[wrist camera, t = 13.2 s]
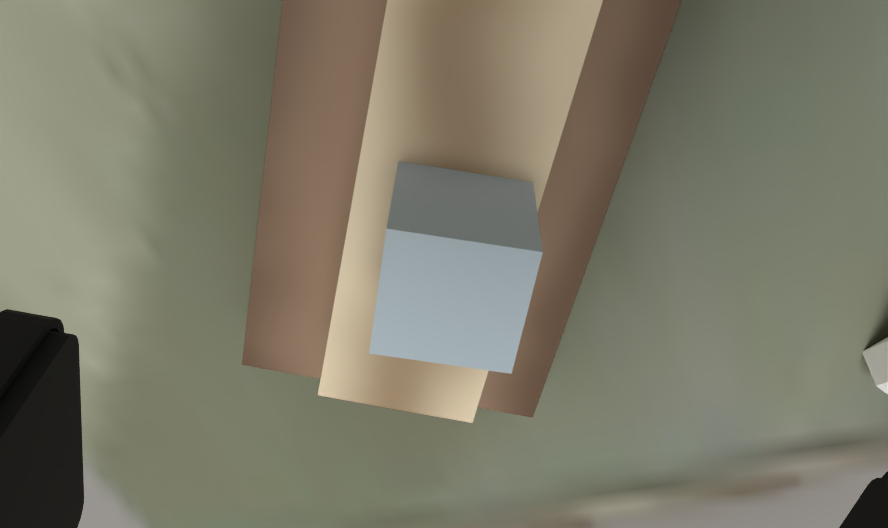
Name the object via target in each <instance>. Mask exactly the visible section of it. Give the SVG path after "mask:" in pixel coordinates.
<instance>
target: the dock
mask: <svg viewBox="0 0 888 528" xmlns="http://www.w3.org/2000/svg"><path fill="white" fill-rule="evenodd" d="M681 2H682V0H603V2H602V5H601V8H600V12H599V15H598V18H597V21H596V25H595V28H594V31H593V34H592V38H591V41H590V44H589V47H588V50H587V54H586V57H585V60H584V63H583V67H582V70H581V73H580V76H579V80H578V83H577V86H576V89H575V93H574V96H573V99H572V102H571V105H570V109H569V112H568V115H567V118H566V122H565V125H564V128H563V131H562V135H561V138H560V141H559V144H558V148H557V151H556V154H555V157H554V161H553V164H552V167H551V170H550V173H549V177H548V180H547V183H546V186H545V190H544V193H543V196H542V199H541V203H540V206H539V209H538V212H537V214H538V221H539V229H540V236H541V243H542V250H543V253H542V257H541V261H540V265H539V269H538V273H537V277H536V281H535V284H534V288H533V292H532V296H531V300H530V304H529V308H528V312H527V316H526V320H525V323H524V327H523V331H522V335H521V339H520V343H519V347H518V351H517V355H516V358H515V362H514V366H513V370H512V374H510V373H503V372H496V371H488V374H487V377H486V381H485V384H484V387H483V390H482V394H481V397H480V400H479V403H478V408H483V409H489V410H494V411H500V412H505V413H511V414H516V415H522V416H527V417H533V415H534V412H535V409H536V407H537V404H538V401H539V398H540V396H541V393H542V390H543V387H544V384H545V382H546V379H547V376H548V373H549V370H550V368H551V365H552V362H553V359H554V356H555V354H556V351H557V348H558V345H559V342H560V340H561V337H562V334H563V331H564V328H565V326H566V323H567V320H568V317H569V315H570V312H571V309H572V306H573V303H574V301H575V298H576V295H577V292H578V289H579V287H580V284H581V281H582V278H583V275H584V273H585V270H586V267H587V264H588V261H589V259H590V256H591V253H592V250H593V247H594V245H595V242H596V239H597V236H598V234H599V231H600V228H601V225H602V222H603V220H604V217H605V214H606V211H607V208H608V206H609V203H610V200H611V197H612V194H613V192H614V189H615V186H616V183H617V180H618V178H619V175H620V172H621V169H622V166H623V164H624V161H625V158H626V155H627V153H628V150H629V147H630V144H631V141H632V139H633V136H634V133H635V130H636V127H637V125H638V122H639V119H640V116H641V113H642V111H643V108H644V105H645V102H646V99H647V97H648V94H649V91H650V88H651V85H652V83H653V80H654V77H655V74H656V72H657V69H658V66H659V63H660V60H661V58H662V55H663V52H664V49H665V46H666V44H667V41H668V38H669V35H670V32H671V30H672V27H673V24H674V21H675V18H676V16H677V13H678V10H679V7H680V4H681ZM386 5H387V0H283V2H282V11H281V19H280V28H279V37H278V46H277V55H276V64H275V73H274V82H273V91H272V100H271V109H270V118H269V127H268V136H267V145H266V154H265V163H264V172H263V181H262V190H261V199H260V208H259V217H258V226H257V235H256V244H255V253H254V262H253V270H252V279H251V288H250V297H249V306H248V315H247V324H246V333H245V342H244V351H243V360H242V365H247V366H253V367H258V368H264V369H269V370H275V371H280V372H286V373H291V374H297V375H302V376H308V377H313V378H319V379H321V375H322V369H323V363H324V358H325V352H326V346H327V340H328V335H329V329H330V323H331V318H332V312H333V306H334V301H335V295H336V289H337V284H338V278H339V272H340V267H341V261H342V255H343V249H344V244H345V238H346V232H347V227H348V221H349V215H350V210H351V204H352V198H353V193H354V187H355V181H356V176H357V170H358V164H359V158H360V153H361V147H362V141H363V136H364V130H365V124H366V119H367V113H368V107H369V102H370V96H371V90H372V85H373V79H374V73H375V67H376V62H377V56H378V50H379V45H380V39H381V33H382V28H383V22H384V16H385V11H386Z"/></svg>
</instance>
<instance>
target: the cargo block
mask: <svg viewBox="0 0 888 528" xmlns="http://www.w3.org/2000/svg"><path fill="white" fill-rule="evenodd" d="M542 253H543V250H542V243H541V236H540V229H539V221H538V214H537V207H536V200H535V193H534V185H533V182H528V181H521V180H515V179H509V178H502V177H496V176H489V175H483V174H477V173H470V172H464V171H457V170H451V169H444V168H438V167H432V166H425V165H419V164H412V163H406V162H400V161H398V165H397V171H396V177H395V182H394V188H393V194H392V200H391V205H390V211H389V217H388V222H387V228H386V235H385V242H384V249H383V257H382V264H381V271H380V278H379V285H378V292H377V299H376V306H375V314H374V321H373V328H372V335H371V342H370V349H369V354H376V355H383V356H390V357H397V358H404V359H411V360H418V361H425V362H432V363H439V364H446V365H453V366H460V367H467V368H474V369H482V370H489V371H496V372H503V373H510V374H512V370H513V366H514V362H515V358H516V355H517V351H518V347H519V343H520V339H521V335H522V331H523V327H524V323H525V320H526V316H527V312H528V308H529V304H530V300H531V296H532V292H533V288H534V284H535V281H536V277H537V273H538V269H539V265H540V261H541V257H542Z"/></svg>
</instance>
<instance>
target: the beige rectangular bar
mask: <svg viewBox="0 0 888 528" xmlns="http://www.w3.org/2000/svg"><path fill="white" fill-rule="evenodd" d="M602 2H603V0H387V5H386V11H385V16H384V22H383V28H382V33H381V39H380V45H379V50H378V56H377V62H376V67H375V73H374V79H373V85H372V90H371V96H370V102H369V107H368V113H367V119H366V124H365V130H364V136H363V141H362V147H361V153H360V158H359V164H358V170H357V176H356V181H355V187H354V193H353V198H352V204H351V210H350V215H349V221H348V227H347V232H346V238H345V244H344V249H343V255H342V261H341V267H340V272H339V278H338V284H337V289H336V295H335V301H334V306H333V312H332V318H331V323H330V329H329V335H328V340H327V346H326V352H325V358H324V363H323V369H322V375H321V380H320V386H319V392H318V395H320V396H326V397H331V398H337V399H342V400H348V401H353V402H359V403H365V404H370V405H376V406H381V407H387V408H392V409H398V410H403V411H409V412H414V413H420V414H426V415H431V416H437V417H442V418H448V419H453V420H459V421H464V422H470V423H473V419H474V416H475V413H476V410H477V407H478V403H479V400H480V397H481V394H482V390H483V387H484V384H485V381H486V377H487V374H488V371H489V370H482V369H474V368H467V367H460V366H453V365H446V364H439V363H432V362H425V361H418V360H411V359H404V358H397V357H390V356H383V355H376V354H369V349H370V342H371V335H372V328H373V321H374V314H375V306H376V299H377V292H378V285H379V278H380V271H381V264H382V257H383V249H384V242H385V235H386V228H387V222H388V217H389V211H390V205H391V200H392V194H393V188H394V182H395V177H396V171H397V165H398V161H400V162H406V163H412V164H419V165H425V166H432V167H438V168H444V169H451V170H457V171H464V172H470V173H477V174H483V175H489V176H496V177H502V178H509V179H515V180H521V181H528V182H533V185H534V193H535V200H536V207H537V212H538V209H539V206H540V203H541V199H542V196H543V193H544V190H545V186H546V183H547V180H548V177H549V173H550V170H551V167H552V164H553V161H554V157H555V154H556V151H557V148H558V144H559V141H560V138H561V135H562V131H563V128H564V125H565V122H566V118H567V115H568V112H569V109H570V105H571V102H572V99H573V96H574V93H575V89H576V86H577V83H578V80H579V76H580V73H581V70H582V67H583V63H584V60H585V57H586V54H587V50H588V47H589V44H590V41H591V38H592V34H593V31H594V28H595V25H596V21H597V18H598V15H599V12H600V8H601V5H602Z"/></svg>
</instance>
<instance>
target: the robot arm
mask: <svg viewBox="0 0 888 528" xmlns="http://www.w3.org/2000/svg"><path fill="white" fill-rule="evenodd" d="M83 504H84V486H83V456H82V427H81V397H80V368H79V344H78V339H77V337H76V336H75V335H73V334H67V333H64V327H63V324H62V322H61V320H60V319H57V318H53V317H47V316H42V315H36V314H30V313H25V312H19V311H14V310H8V309H7V310H4V311H1V312H0V528H77V527H78V524H79V521H80V518H81V514H82V510H83ZM840 528H888V472H886V473H885V474H884V476H883V477H882V478H876V479H874V480H872V481H871V482H870V483H869V484H868V486H867V487H866V489H865V490H864V492H863V493H862V495H861V496H860V498H859V499H858V501H857V502H856V504H855V505H854V507H853V508H852V510H851V511H850V513H849V514H848V516H847V517H846V518H845V520H844V521H843V523H842V524H841V526H840Z"/></svg>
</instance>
